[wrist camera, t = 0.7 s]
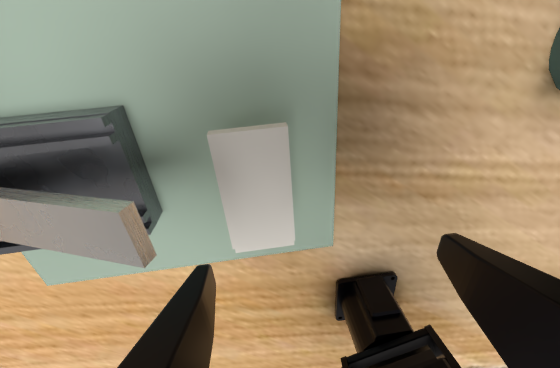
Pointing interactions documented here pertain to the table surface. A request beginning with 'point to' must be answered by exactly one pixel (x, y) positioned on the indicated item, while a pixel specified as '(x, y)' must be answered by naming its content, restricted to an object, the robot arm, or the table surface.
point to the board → (184, 104)
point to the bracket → (555, 60)
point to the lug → (255, 184)
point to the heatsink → (76, 159)
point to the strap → (75, 225)
